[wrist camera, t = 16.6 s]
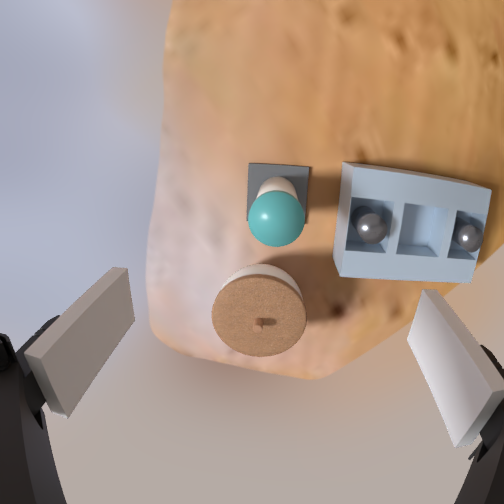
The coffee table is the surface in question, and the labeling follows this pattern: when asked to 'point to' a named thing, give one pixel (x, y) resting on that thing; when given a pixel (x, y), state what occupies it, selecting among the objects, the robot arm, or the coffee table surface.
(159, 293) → the coffee table surface
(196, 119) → the coffee table surface
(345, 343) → the coffee table surface
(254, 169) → the mat
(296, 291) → the lidded jar
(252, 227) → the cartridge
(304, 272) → the coffee table surface
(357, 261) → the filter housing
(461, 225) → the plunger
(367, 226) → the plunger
